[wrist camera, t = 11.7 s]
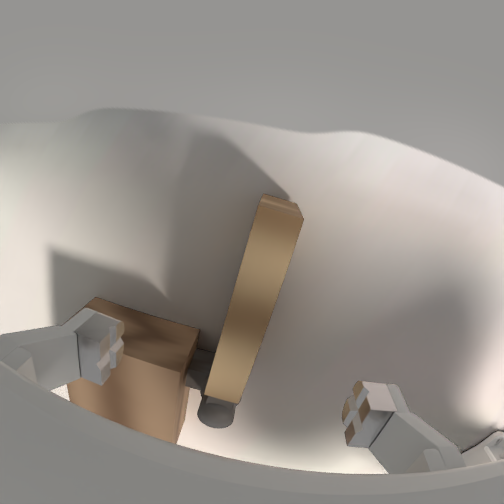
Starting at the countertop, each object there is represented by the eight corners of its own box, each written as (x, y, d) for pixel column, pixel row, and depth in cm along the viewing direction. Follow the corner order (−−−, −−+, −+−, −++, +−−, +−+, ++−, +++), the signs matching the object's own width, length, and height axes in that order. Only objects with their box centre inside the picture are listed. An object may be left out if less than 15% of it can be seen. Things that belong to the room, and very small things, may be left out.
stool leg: (237, 383, 26) (228, 431, 20) (209, 375, 26) (194, 422, 20) (298, 204, 21) (305, 219, 16) (261, 193, 21) (256, 204, 16)
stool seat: (253, 343, 25) (246, 389, 20) (227, 430, 29) (218, 474, 23) (95, 296, 25) (59, 327, 20) (99, 390, 29) (75, 424, 23)
